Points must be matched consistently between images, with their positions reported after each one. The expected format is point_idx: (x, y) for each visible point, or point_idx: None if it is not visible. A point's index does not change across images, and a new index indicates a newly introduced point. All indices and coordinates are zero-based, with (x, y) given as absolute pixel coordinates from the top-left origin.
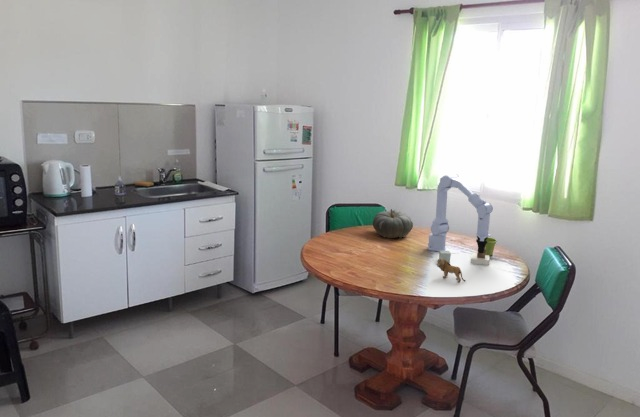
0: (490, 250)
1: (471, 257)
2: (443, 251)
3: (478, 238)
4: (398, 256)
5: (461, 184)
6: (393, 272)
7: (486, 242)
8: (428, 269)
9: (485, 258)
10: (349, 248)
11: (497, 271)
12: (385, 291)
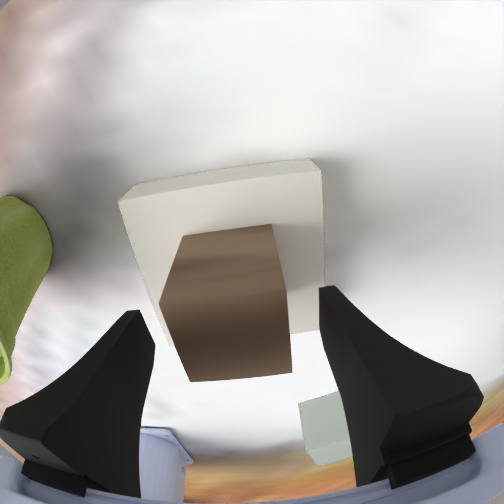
0: (7, 227)
1: (294, 332)
2: (332, 456)
3: (134, 469)
4: (328, 477)
5: None
6: (473, 425)
7: (478, 388)
8: None
9: (262, 219)
10: None
11: (451, 82)
12: None
